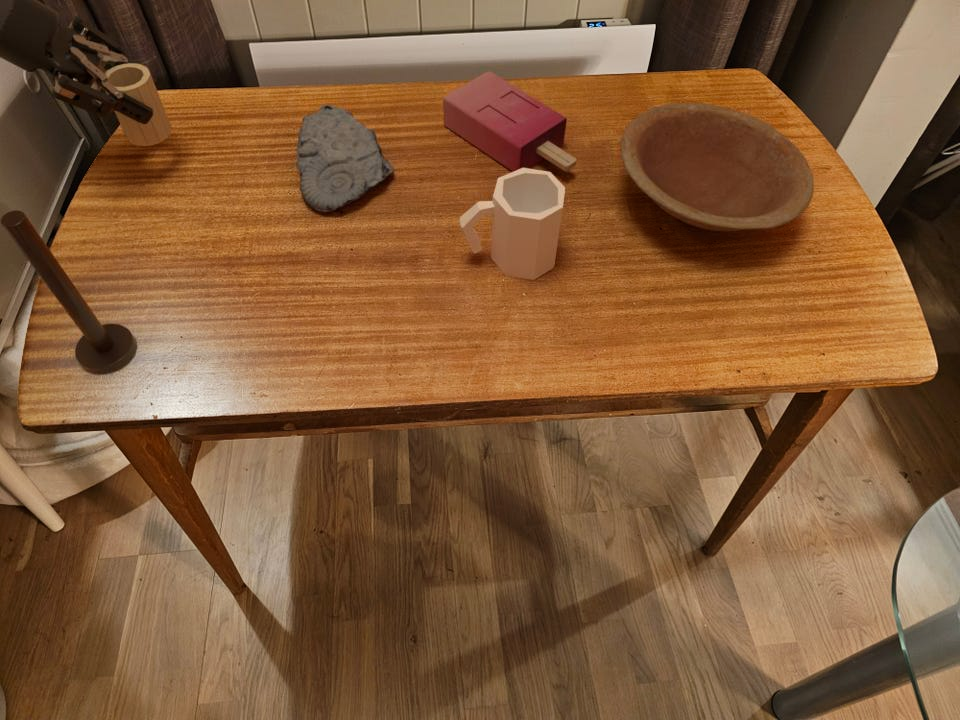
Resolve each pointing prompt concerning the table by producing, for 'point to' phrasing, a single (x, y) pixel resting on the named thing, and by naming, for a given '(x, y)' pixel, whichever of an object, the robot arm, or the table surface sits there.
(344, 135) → the fossil
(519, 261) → the mug
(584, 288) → the table surface
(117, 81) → the faceted pencil cup
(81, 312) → the stand
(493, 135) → the popsicle
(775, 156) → the bowl
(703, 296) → the table surface
